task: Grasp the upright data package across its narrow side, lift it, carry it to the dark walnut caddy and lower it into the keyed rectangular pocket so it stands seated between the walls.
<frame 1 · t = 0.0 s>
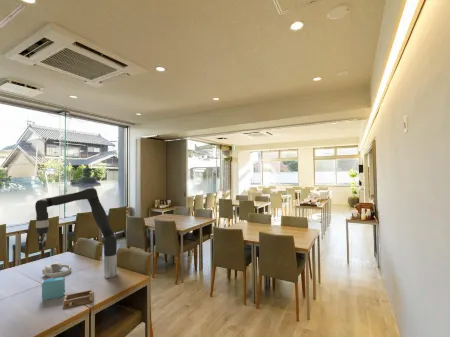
hand: (42, 248, 174), 29 cm above the table, fingers open, 8 cm apart
caddy: (79, 300, 156), on the table
data package: (53, 297, 161), on the table
headphones: (57, 274, 198), on the table
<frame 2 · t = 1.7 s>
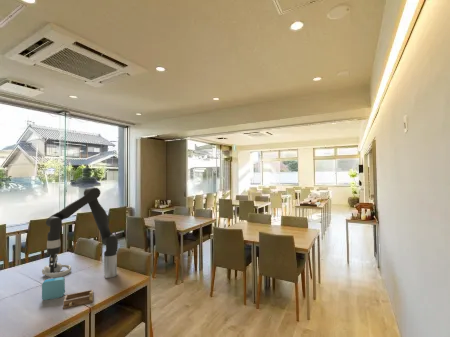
hand: (53, 270, 161), 18 cm above the table, fingers open, 8 cm apart
nothing on the table moved.
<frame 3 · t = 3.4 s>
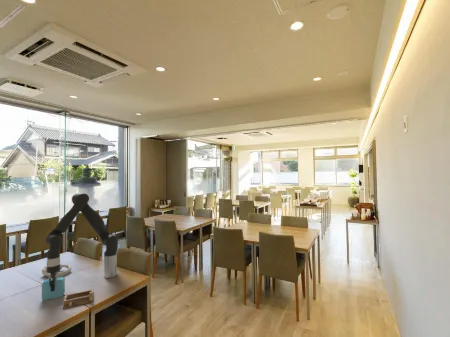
hand: (53, 289, 161), 5 cm above the table, fingers closed on data package, 4 cm apart
data package: (53, 297, 161), on the table, touching gripper
everything else where it was.
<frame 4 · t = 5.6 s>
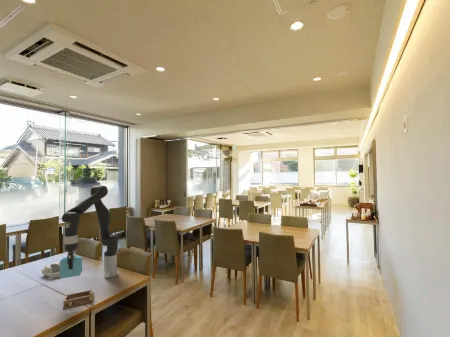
hand: (71, 267, 158), 21 cm above the table, fingers closed on data package, 4 cm apart
data package: (71, 276, 158), point 16 cm above the table, touching gripper
everything else where it was.
when the fingers open (7 cm above the table, at t = 8.1 s): data package stays where it is, resting on caddy.
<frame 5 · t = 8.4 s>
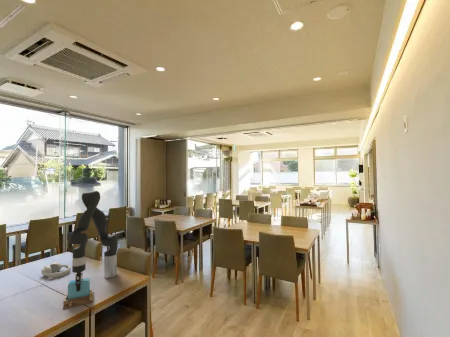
hand: (79, 288, 156), 8 cm above the table, fingers open, 7 cm apart
data package: (79, 299, 156), point 1 cm above the table, touching caddy
everything else where it was.
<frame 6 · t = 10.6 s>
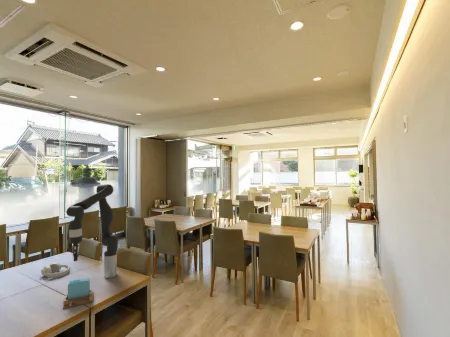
hand: (76, 258, 162), 25 cm above the table, fingers open, 8 cm apart
nothing on the table moved.
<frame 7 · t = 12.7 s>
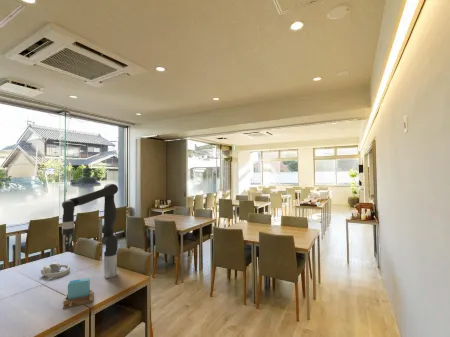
hand: (68, 249, 174), 28 cm above the table, fingers open, 8 cm apart
at the end: data package 0.1 cm off-centre on the caddy, point 0.8 cm above the caddy's base; data package tilted 0°; the gripper is holding nothing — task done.
